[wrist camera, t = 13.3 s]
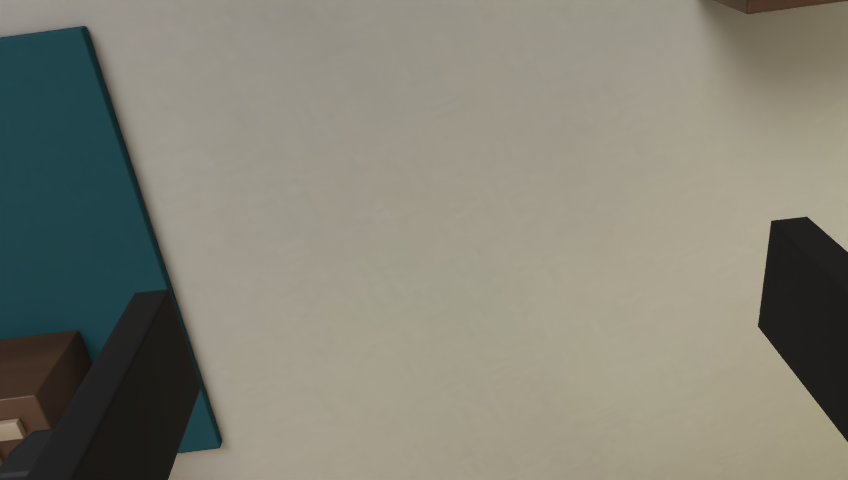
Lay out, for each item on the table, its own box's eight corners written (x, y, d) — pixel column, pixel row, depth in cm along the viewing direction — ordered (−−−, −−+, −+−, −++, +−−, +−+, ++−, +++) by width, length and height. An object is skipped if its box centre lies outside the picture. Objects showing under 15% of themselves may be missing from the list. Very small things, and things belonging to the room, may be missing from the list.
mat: (-289, 76, 27) (-300, 80, 27) (86, 25, 27) (81, 28, 26) (-59, 476, 36) (-65, 484, 36) (222, 441, 36) (220, 448, 35)
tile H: (-45, 344, 32) (-112, 418, 28) (78, 329, 32) (31, 400, 28) (3, 440, 35) (-52, 521, 30) (118, 426, 34) (79, 505, 30)
